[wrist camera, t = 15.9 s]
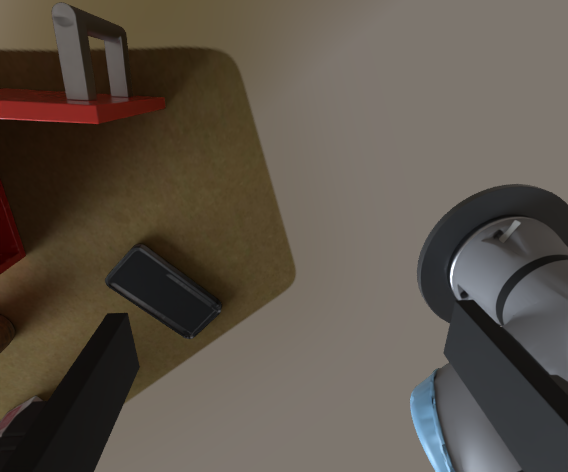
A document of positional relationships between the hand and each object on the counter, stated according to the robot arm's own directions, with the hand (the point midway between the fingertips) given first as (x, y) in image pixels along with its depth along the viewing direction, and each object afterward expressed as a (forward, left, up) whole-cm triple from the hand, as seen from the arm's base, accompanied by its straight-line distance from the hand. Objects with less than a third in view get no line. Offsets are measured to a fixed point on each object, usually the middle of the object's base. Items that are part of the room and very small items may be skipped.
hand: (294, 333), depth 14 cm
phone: (+10, +21, -32) cm, 39 cm away
